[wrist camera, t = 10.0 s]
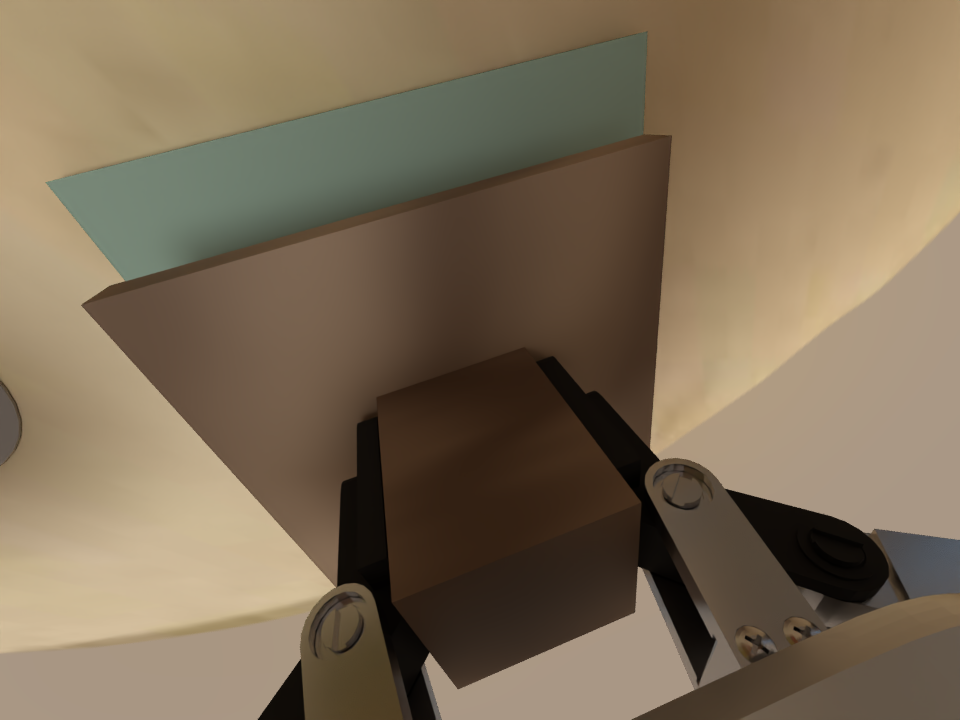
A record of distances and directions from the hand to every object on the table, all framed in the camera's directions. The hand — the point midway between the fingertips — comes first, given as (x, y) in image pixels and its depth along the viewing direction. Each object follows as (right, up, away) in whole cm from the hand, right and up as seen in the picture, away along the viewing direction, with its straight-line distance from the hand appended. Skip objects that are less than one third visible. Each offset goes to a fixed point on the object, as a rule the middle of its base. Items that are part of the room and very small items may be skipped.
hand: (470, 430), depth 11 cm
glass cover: (0, +1, +1) cm, 1 cm away
